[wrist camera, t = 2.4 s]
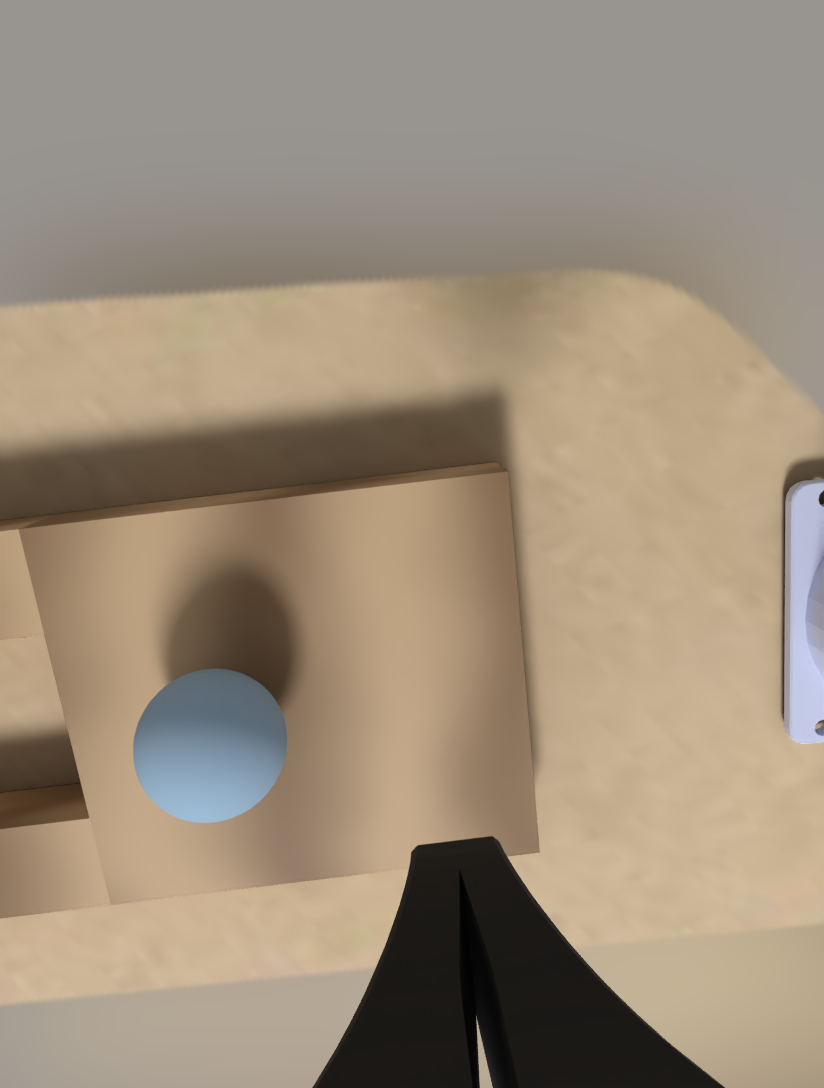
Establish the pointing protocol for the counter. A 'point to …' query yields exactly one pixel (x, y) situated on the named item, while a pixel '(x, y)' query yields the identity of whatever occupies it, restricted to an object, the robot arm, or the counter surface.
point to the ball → (210, 745)
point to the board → (277, 680)
